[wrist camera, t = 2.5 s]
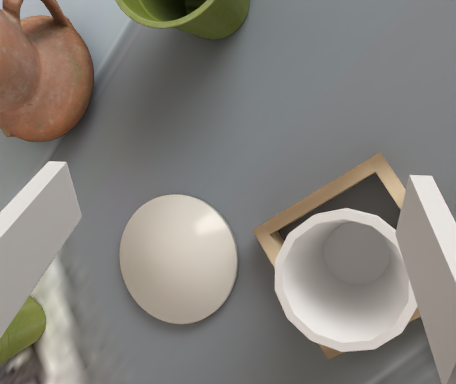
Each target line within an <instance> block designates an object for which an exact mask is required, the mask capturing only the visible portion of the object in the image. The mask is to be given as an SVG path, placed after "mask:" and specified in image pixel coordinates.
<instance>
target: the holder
mask: <svg viewBox="0 0 456 384" xmlns="http://www.w3.org/2000/svg"><path fill="white" fill-rule="evenodd" d="M375 173H377V175H378V176H379V178H380V179H381V181H382V182H383V184H384V185H385V187H386V188H387V190H388V191H389V193H390V194H391V196H392V197H393V199H394V200H395V202H396V203H397V205H398V207H399V208H400V210H401V208H402V204H403V200H404V196H405V192H406V190H405V188H404V187H403V185H402V184H401V182H400V181H399V179H398V178H397V176H396V175H395V173H394V172H393V170H392V169H391V167H390V166H389V164H388V163H387V161H386V160H385V158H384V157H383V155H382V154H381V152H379V153H378V154H376V155H374V156H373V157H371V158H369V159H368V160H366V161H365V162H363V163H361V164H360V165H358V166H356V167H355V168H353V169H351V170H350V171H348V172H347V173H345V174H343V175H342V176H340V177H338V178H337V179H335V180H333V181H332V182H330V183H329V184H327V185H325V186H324V187H322V188H320V189H319V190H317V191H315V192H314V193H312V194H310V195H309V196H307V197H306V198H304V199H302V200H301V201H299V202H297V203H296V204H294V205H292V206H291V207H289V208H288V209H286V210H284V211H283V212H281V213H279V214H278V215H276V216H274V217H273V218H271V219H270V220H268V221H266V222H265V223H263V224H261V225H260V226H258V227H256V228H255V229H253V232H254V234H255V235H256V237H257V239H258V240H259V242H260V244H261V246H262V247H263V249H264V251H265V252H266V254H267V256H268V258H269V259H270V261H271V263H272V265H273V266H274V268H275V259H276V257H277V255H278V253H279V251H280V249H281V247H282V245H283V243H284V240H283V238H282V237H281V235H280V233H279V230H281V229H283V228H284V227H286V226H288V225H289V224H291V223H293V222H294V221H296V220H298V219H299V218H301V217H303V216H304V215H306V214H308V213H309V212H311V211H313V210H314V209H316V208H318V207H319V206H321V205H323V204H324V203H326V202H328V201H330V200H331V199H333V198H335V197H336V196H338V195H340V194H341V193H343V192H345V191H346V190H348V189H350V188H351V187H353V186H355V185H356V184H358V183H360V182H361V181H363V180H365V179H366V178H368V177H370V176H371V175H373V174H375ZM419 317H421V315H420V312H419V309H418V306H417V308H416V310H415V312H414V313H413V315H412V317H411V318H410V320H409V322H411V321H413V320H415V319H417V318H419ZM409 322H408V323H409ZM318 344H319V343H318ZM319 345H320V347H321V349H322V351H323V352H324V354H325V356H326V357H327V359H328V360H329V359H331V358H334V357H336V356H338V355H340V354H342V353H344V352H341V351H338V350H335V349H332V348H330V347H327V346H324V345H321V344H319Z"/></svg>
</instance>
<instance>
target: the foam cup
mask: <svg viewBox="0 0 456 384" xmlns="http://www.w3.org/2000/svg"><path fill="white" fill-rule="evenodd" d="M395 233H396V230H395V229H394V228H393V227H391V226H390V225H389V224H388V223H386V222H385V221H384V220H383V219H381V218H380V217H379V216H377V215H373V214H369V213H365V212H361V211H357V210H353V209H349V208H344V209H339V210H334V211H328V212H323V213H318V214H315V215H313V216H311V217H310V218H309V219H307V220H306V221H305V222H303V223H302V224H301V225H299V226H298V227H297V228H295V229H294V230H293V231H291V232H290V233H289V234H288V236H287V238H286V240H285V241H284V243H283V245H282V247H281V249H280V251H279V253H278V255H277V257H276V259H275V292H276V294H277V296H278V299H279V301H280V303H281V305H282V308H283V310H284V312H285V315H286V317H287V319H288V320H289V321H290V322H292V323H293V324H294V325H295V326H296V327H297V328H298V329H299V330H300V331H301V332H302V333H303V334H304V335H305V336H306V337H307V338H309V339H310V340H311V341H313V342H316V343H319V344H321V345H324V346H327V347H330V348H332V349H335V350H338V351H341V352H346V351H360V350H373V349H376V348H378V347H379V346H381V345H383V344H384V343H386V342H388V341H389V340H391V339H393V338H394V337H396V336H398V335H399V334H401V333H402V332H403V330H404V329H405V327H406V325H407V324H408V322H409V320H410V318H411V317H412V315H413V313H414V312H415V310H416V308H417V303H416V299H415V296H414V293H413V290H412V286H411V283H410V280H409V277H408V274H407V270H406V267H405V264H404V261H403V258H402V254H401V251H400V248H399V245H398V241H397V238H396V235H395Z"/></svg>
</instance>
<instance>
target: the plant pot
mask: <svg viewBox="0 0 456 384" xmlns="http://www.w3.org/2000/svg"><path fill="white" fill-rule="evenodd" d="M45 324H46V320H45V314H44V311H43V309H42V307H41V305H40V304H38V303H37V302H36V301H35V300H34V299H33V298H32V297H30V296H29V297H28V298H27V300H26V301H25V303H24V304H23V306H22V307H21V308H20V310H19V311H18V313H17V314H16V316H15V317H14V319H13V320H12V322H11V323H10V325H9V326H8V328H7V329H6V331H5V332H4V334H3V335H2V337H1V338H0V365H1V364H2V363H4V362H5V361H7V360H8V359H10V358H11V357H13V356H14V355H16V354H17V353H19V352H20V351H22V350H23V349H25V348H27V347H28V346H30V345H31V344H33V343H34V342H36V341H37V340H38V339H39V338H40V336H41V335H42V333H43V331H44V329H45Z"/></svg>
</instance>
